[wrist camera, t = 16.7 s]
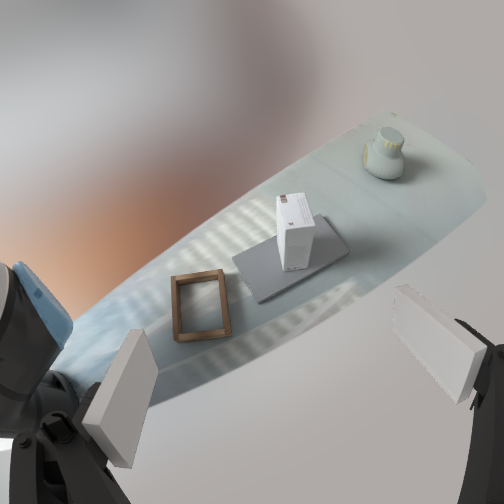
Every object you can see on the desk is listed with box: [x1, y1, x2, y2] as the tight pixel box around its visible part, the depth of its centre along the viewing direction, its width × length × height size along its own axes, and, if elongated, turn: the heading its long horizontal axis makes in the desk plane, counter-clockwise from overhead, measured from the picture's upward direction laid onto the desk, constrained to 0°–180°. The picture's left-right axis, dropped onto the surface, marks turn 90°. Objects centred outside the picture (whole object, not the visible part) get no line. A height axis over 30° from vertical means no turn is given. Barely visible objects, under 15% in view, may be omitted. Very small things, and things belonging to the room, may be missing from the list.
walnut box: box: [171, 269, 232, 342], centre depth 45 cm, size 9×11×2 cm
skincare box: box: [277, 193, 316, 272], centre depth 43 cm, size 6×4×12 cm
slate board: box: [232, 214, 349, 304], centre depth 49 cm, size 18×9×1 cm, turn 118°
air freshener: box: [363, 127, 404, 180], centre depth 55 cm, size 11×8×10 cm
